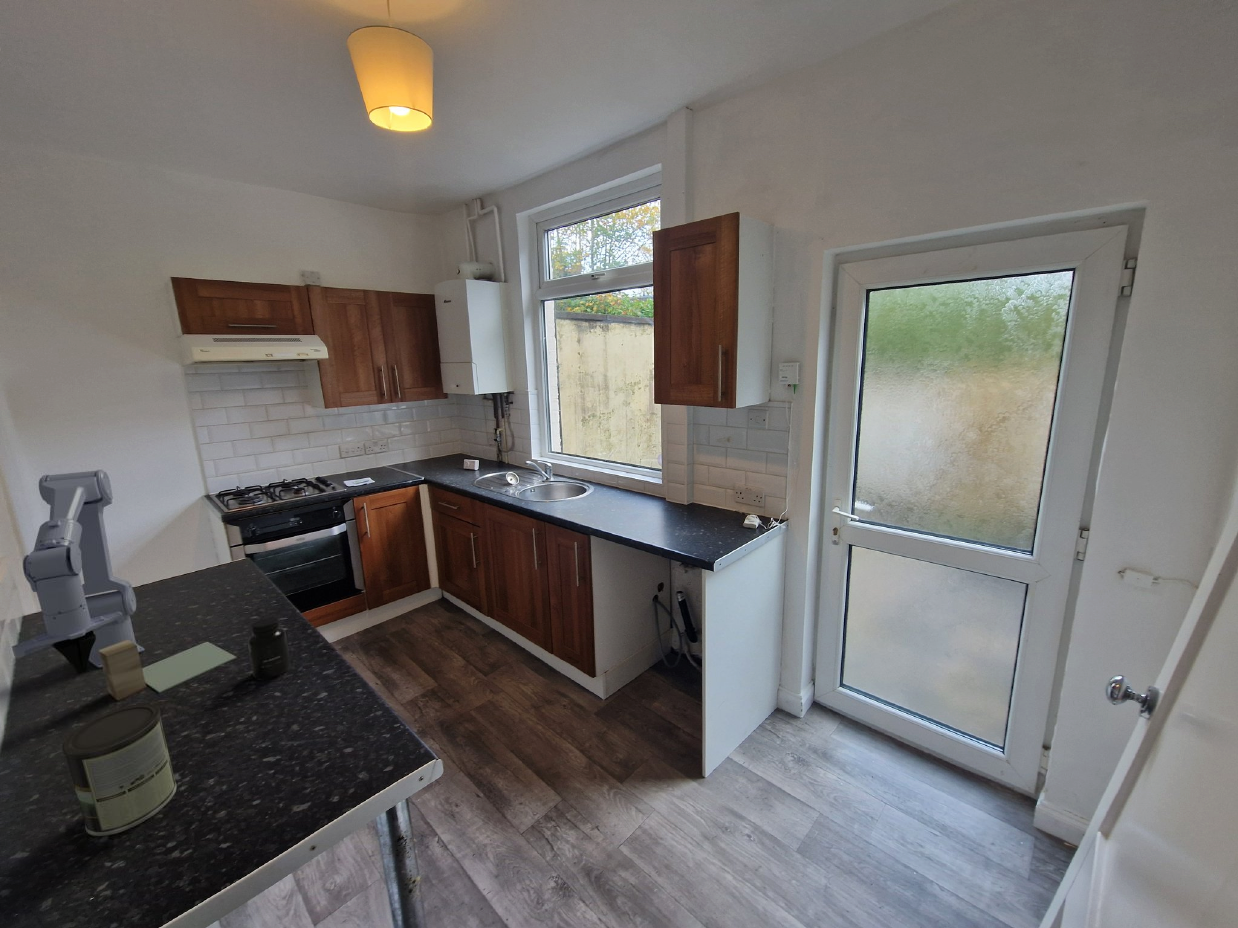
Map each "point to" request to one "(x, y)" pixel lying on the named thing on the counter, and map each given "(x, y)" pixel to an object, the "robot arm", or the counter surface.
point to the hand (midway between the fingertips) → (81, 671)
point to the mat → (185, 666)
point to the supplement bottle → (268, 649)
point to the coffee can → (120, 768)
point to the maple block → (122, 669)
